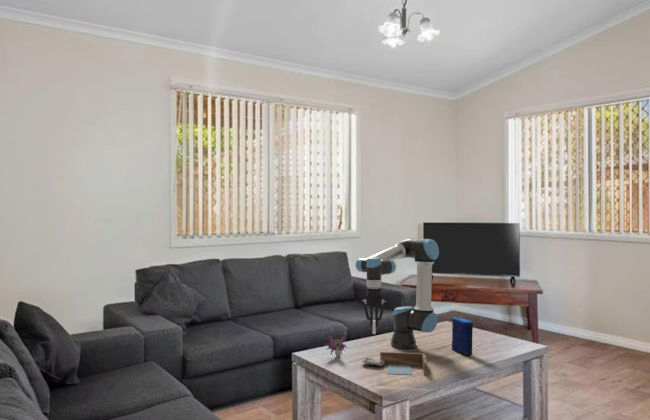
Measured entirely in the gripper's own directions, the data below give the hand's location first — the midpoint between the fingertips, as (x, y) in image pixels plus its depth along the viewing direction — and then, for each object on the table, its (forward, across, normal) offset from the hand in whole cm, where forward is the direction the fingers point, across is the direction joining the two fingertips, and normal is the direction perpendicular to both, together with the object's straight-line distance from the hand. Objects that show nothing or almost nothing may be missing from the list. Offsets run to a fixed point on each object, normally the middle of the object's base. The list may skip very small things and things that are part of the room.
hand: (374, 333), depth 250 cm
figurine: (+19, -21, +16) cm, 33 cm away
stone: (+19, +1, +2) cm, 19 cm away
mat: (+19, +13, 0) cm, 23 cm away
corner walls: (+19, +13, +1) cm, 23 cm away
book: (+19, +49, +36) cm, 64 cm away
